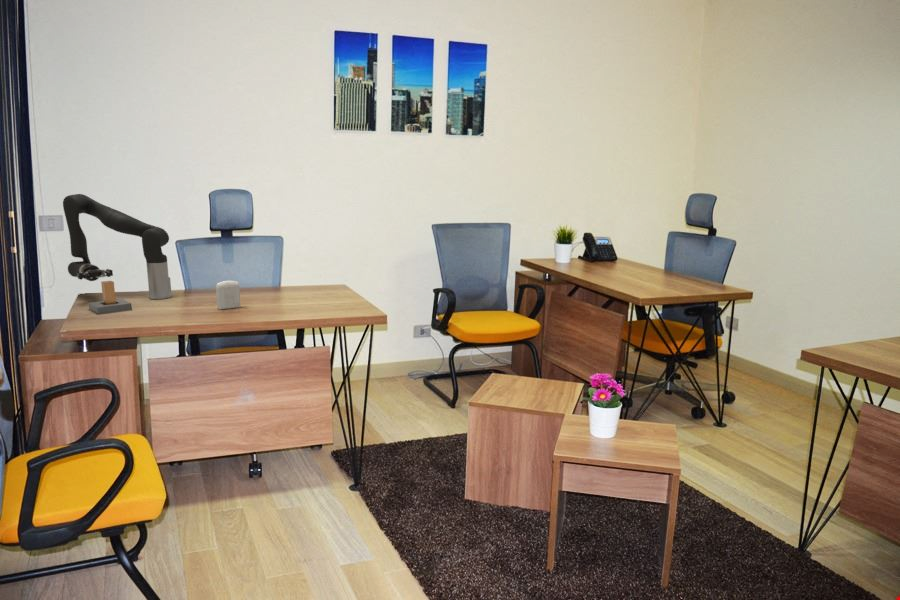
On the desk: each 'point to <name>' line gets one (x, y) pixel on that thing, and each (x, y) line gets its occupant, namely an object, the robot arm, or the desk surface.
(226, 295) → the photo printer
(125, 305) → the well stand
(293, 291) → the desk surface
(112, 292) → the bracket post
